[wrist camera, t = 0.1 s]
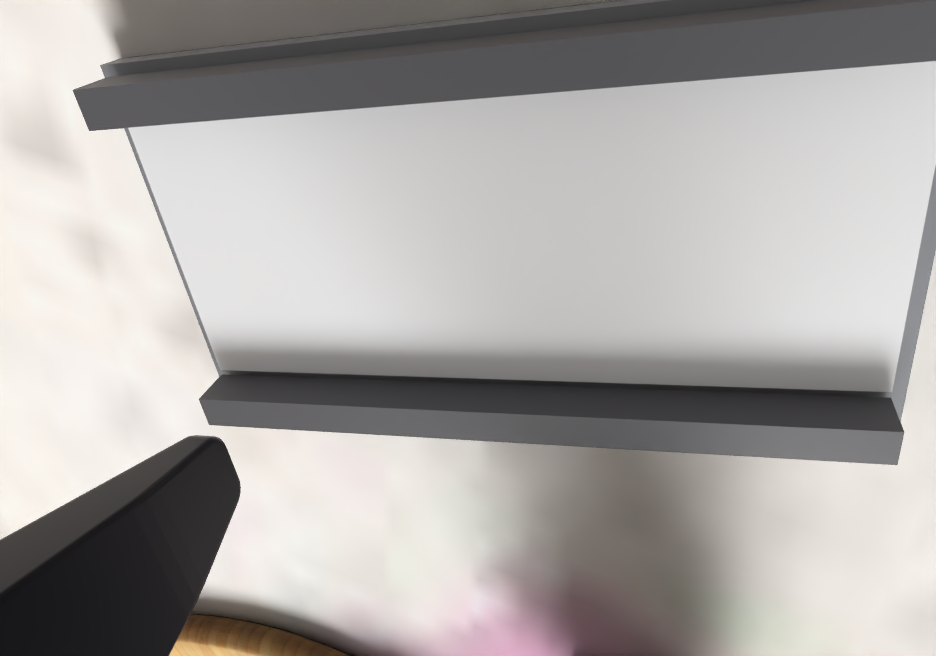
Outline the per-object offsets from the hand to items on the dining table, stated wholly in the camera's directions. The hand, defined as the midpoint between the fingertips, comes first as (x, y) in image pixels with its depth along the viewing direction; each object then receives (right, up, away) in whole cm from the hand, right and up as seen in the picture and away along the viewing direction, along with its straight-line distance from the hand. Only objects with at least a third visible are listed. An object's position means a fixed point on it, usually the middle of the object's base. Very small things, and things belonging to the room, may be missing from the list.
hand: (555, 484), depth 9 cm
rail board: (0, +5, +15) cm, 16 cm away
